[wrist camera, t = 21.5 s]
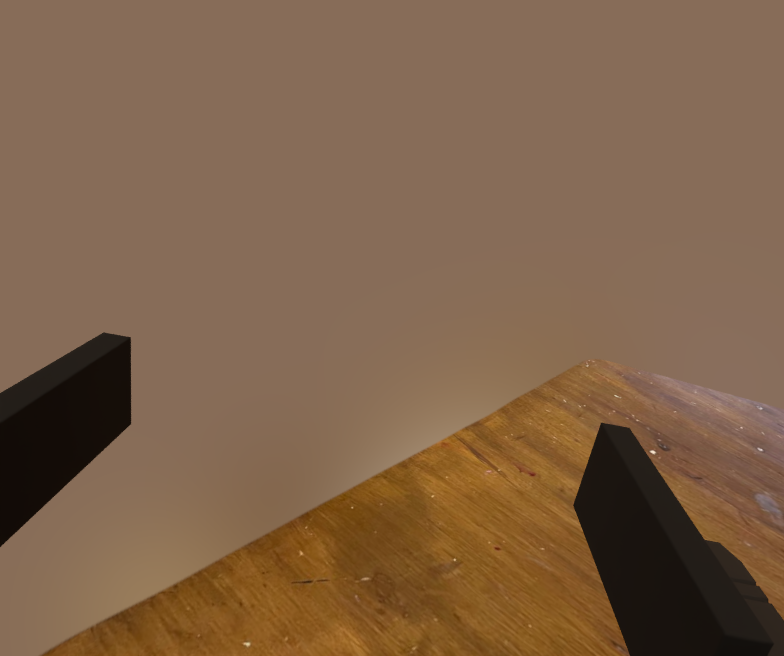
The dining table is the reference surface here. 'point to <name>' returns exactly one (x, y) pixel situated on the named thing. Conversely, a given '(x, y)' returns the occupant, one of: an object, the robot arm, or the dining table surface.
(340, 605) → the dining table surface
